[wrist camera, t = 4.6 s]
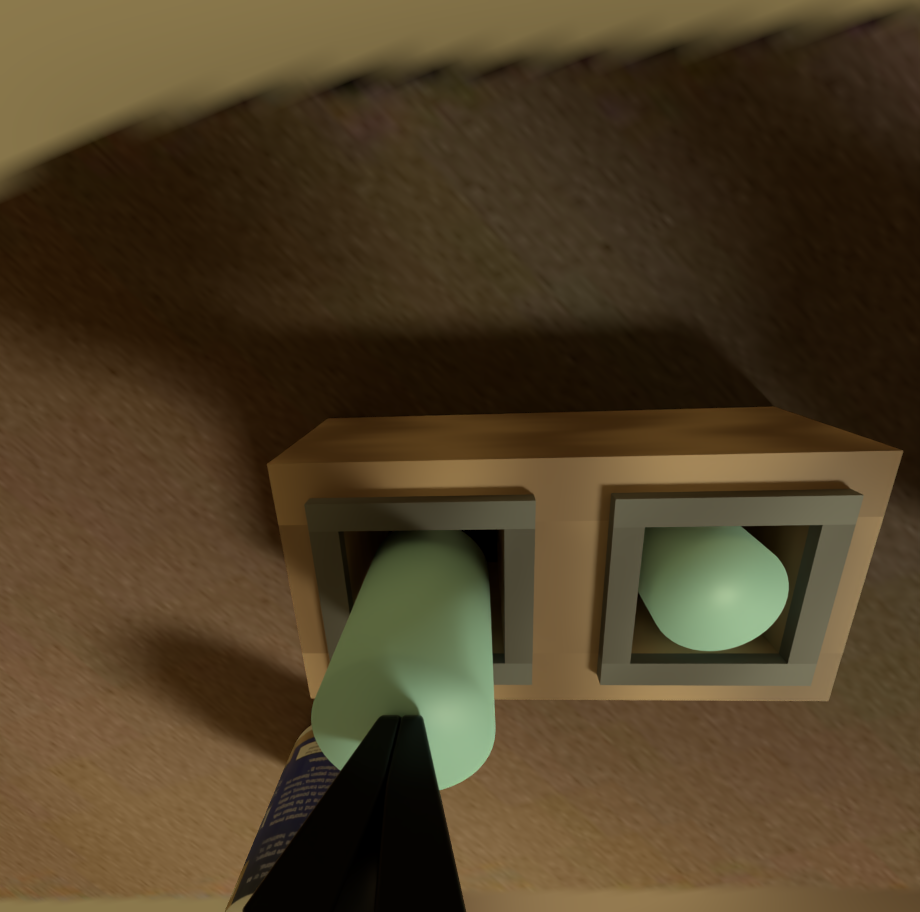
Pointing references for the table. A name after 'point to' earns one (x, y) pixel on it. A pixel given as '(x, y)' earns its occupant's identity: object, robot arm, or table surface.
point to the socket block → (593, 536)
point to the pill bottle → (285, 813)
